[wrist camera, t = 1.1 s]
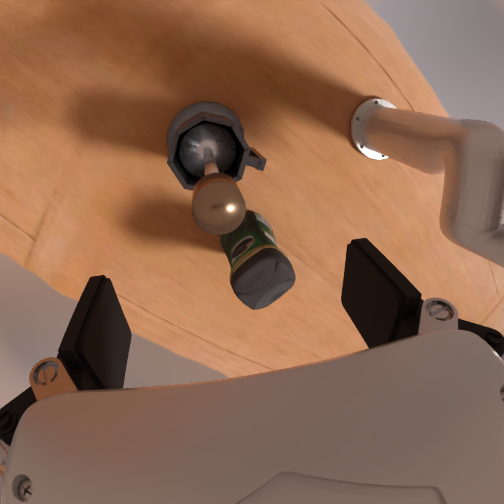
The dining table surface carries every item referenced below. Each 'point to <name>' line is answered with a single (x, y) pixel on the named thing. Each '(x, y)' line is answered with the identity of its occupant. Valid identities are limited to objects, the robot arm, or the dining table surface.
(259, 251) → the coffee jar
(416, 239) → the dining table surface
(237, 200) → the plunger
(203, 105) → the press carafe
